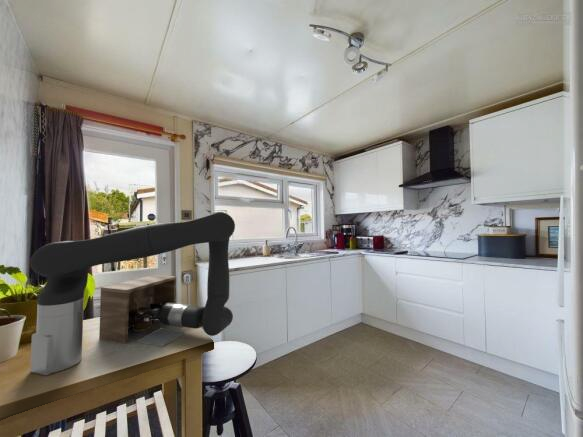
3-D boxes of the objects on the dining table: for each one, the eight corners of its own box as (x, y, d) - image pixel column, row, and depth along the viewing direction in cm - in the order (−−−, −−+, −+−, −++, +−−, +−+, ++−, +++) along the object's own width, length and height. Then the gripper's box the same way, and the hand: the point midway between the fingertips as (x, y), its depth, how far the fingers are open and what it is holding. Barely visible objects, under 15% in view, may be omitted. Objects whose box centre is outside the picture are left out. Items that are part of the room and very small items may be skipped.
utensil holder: (155, 326, 92) (156, 294, 92) (138, 332, 86) (139, 298, 86) (145, 323, 94) (145, 292, 94) (128, 329, 88) (129, 296, 89)
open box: (124, 343, 78) (126, 290, 78) (99, 338, 81) (100, 287, 82) (175, 318, 99) (176, 276, 100) (153, 315, 102) (154, 274, 103)
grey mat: (162, 346, 76) (162, 344, 76) (137, 342, 79) (137, 340, 79) (185, 333, 86) (185, 331, 86) (161, 329, 89) (162, 327, 89)
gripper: (191, 298, 93) (156, 294, 97) (161, 310, 79) (123, 305, 84) (190, 318, 93) (156, 313, 97) (160, 334, 79) (122, 327, 83)
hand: (140, 309), depth 90 cm, fingers open, 8 cm apart
